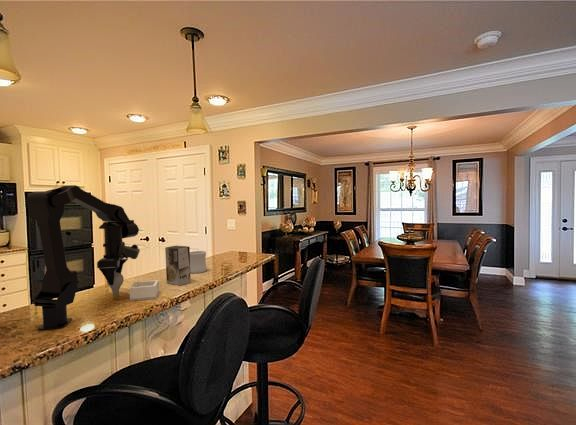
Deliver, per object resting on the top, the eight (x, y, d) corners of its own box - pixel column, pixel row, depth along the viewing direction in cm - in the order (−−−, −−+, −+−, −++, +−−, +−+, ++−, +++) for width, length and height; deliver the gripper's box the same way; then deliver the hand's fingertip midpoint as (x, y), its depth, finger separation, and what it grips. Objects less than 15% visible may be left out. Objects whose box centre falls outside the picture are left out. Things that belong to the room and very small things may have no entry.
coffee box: (191, 282, 134) (190, 246, 133) (179, 286, 128) (178, 248, 128) (178, 279, 139) (177, 244, 138) (165, 283, 133) (164, 246, 132)
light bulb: (116, 301, 109) (115, 274, 109) (104, 301, 110) (102, 274, 110) (127, 297, 114) (126, 271, 114) (115, 296, 115) (114, 270, 115)
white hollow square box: (156, 298, 112) (155, 285, 112) (130, 301, 110) (129, 288, 109) (159, 291, 120) (158, 279, 120) (135, 293, 118) (134, 281, 118)
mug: (202, 268, 160) (201, 250, 160) (209, 271, 153) (209, 252, 153) (179, 272, 152) (178, 253, 152) (185, 275, 145) (185, 255, 145)
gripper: (132, 242, 104) (133, 286, 105) (142, 236, 122) (143, 274, 123) (95, 243, 101) (97, 289, 102) (111, 237, 119) (112, 276, 120)
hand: (115, 281), depth 112 cm, fingers open, 9 cm apart
